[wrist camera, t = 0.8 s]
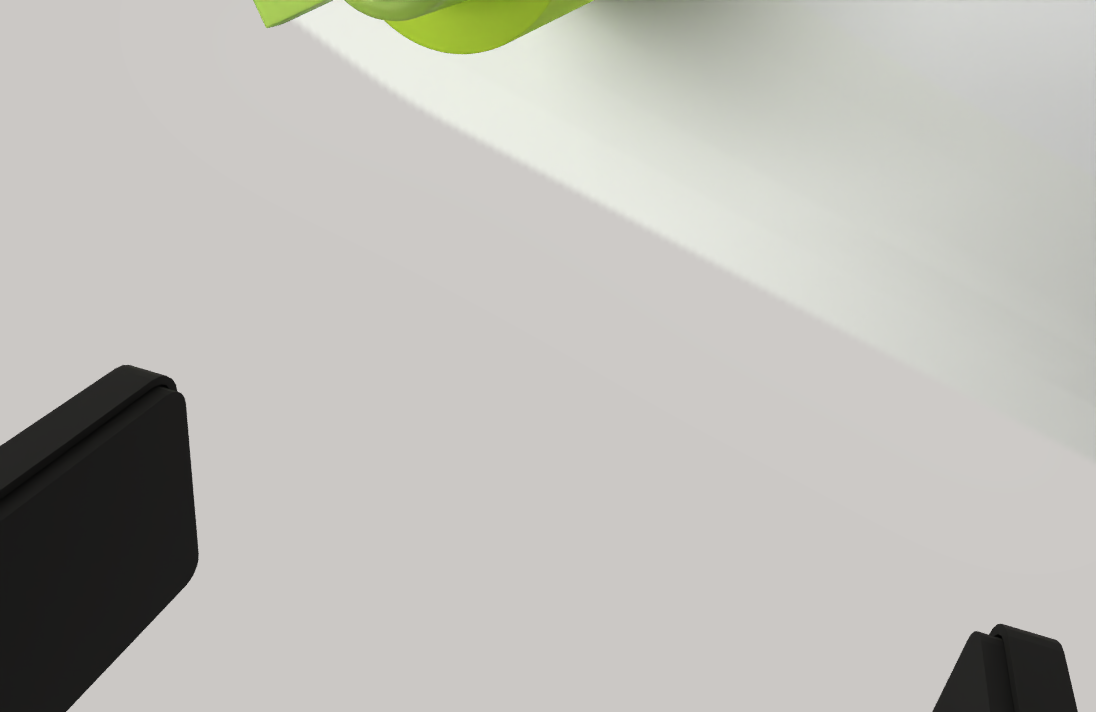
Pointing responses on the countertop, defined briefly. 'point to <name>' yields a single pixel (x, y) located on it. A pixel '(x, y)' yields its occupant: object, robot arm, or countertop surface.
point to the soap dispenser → (441, 19)
